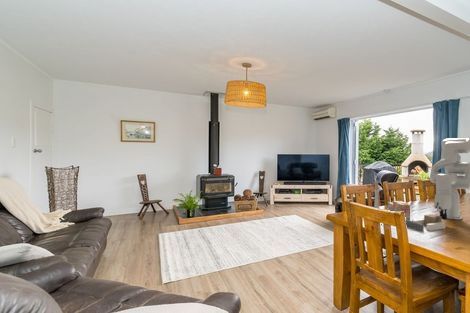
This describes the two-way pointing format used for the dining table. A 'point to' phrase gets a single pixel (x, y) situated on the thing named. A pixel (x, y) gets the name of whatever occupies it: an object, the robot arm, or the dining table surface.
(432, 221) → the walnut block
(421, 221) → the chute rail
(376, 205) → the candlestick
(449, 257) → the dining table surface
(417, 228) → the bar
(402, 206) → the stack of blocks
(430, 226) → the chute rail
